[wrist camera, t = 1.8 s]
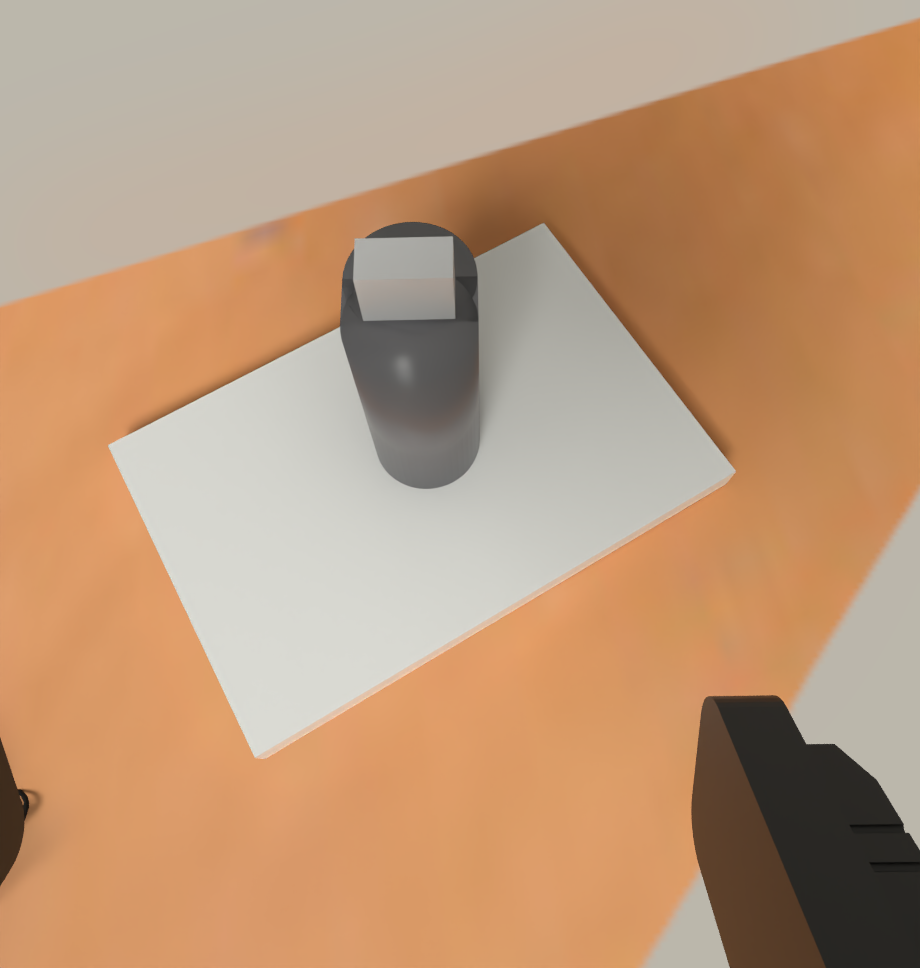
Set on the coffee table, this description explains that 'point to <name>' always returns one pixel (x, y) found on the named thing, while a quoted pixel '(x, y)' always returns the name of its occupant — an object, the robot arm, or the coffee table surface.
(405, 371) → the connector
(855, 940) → the robot arm
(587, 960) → the coffee table surface
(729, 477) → the dock plate
